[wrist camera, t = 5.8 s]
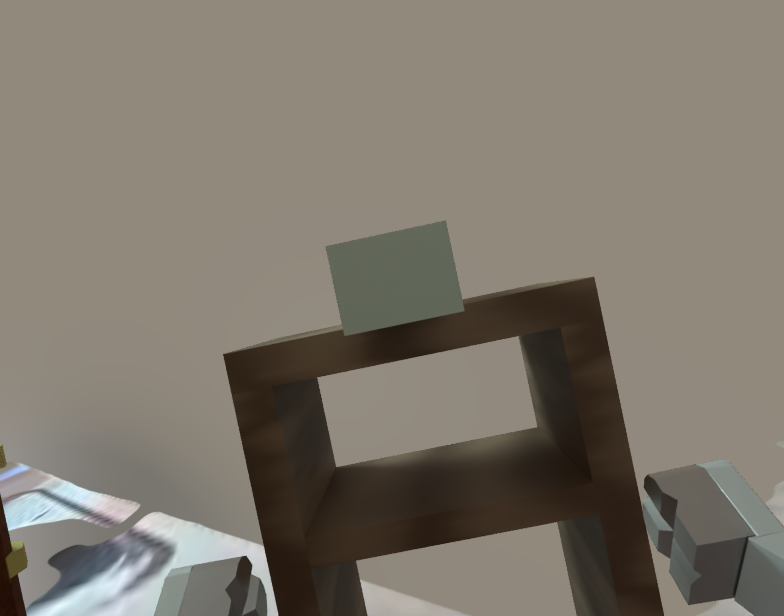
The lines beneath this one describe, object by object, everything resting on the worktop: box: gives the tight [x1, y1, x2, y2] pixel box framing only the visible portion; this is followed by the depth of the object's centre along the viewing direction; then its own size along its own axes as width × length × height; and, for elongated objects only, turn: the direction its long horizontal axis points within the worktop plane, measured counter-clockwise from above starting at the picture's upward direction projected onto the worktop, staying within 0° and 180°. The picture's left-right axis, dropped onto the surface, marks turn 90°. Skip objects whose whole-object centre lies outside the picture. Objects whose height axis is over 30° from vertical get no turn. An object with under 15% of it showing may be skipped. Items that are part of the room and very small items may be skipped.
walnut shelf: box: [223, 277, 664, 616], centre depth 31 cm, size 18×11×26 cm, turn 88°
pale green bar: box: [326, 221, 465, 336], centre depth 27 cm, size 4×19×3 cm, turn 178°
